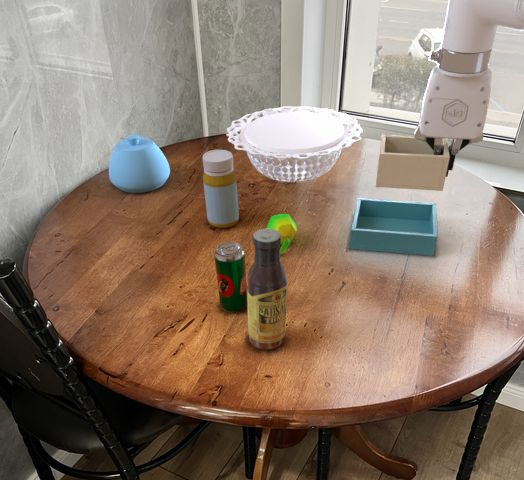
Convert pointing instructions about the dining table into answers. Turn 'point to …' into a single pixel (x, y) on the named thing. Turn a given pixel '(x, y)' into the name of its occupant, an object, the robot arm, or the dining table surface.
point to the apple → (283, 229)
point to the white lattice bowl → (294, 140)
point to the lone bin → (411, 164)
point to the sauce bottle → (266, 292)
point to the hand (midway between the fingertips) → (440, 172)
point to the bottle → (220, 188)
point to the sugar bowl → (138, 165)
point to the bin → (394, 226)
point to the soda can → (231, 276)
